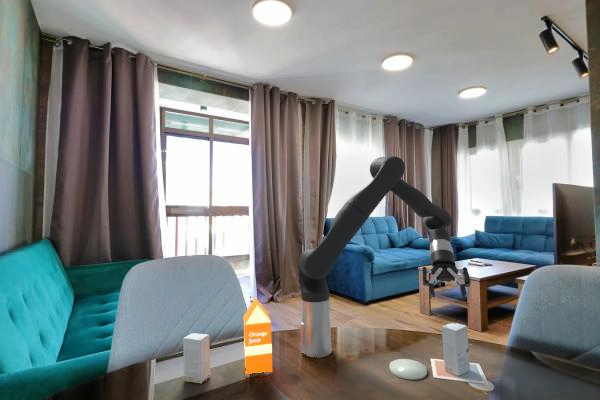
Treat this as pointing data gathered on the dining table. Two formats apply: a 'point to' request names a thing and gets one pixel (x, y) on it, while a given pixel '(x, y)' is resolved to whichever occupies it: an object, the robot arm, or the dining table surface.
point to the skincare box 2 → (455, 348)
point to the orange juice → (257, 339)
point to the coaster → (408, 369)
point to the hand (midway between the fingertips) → (448, 296)
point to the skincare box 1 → (196, 356)
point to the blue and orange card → (471, 376)
